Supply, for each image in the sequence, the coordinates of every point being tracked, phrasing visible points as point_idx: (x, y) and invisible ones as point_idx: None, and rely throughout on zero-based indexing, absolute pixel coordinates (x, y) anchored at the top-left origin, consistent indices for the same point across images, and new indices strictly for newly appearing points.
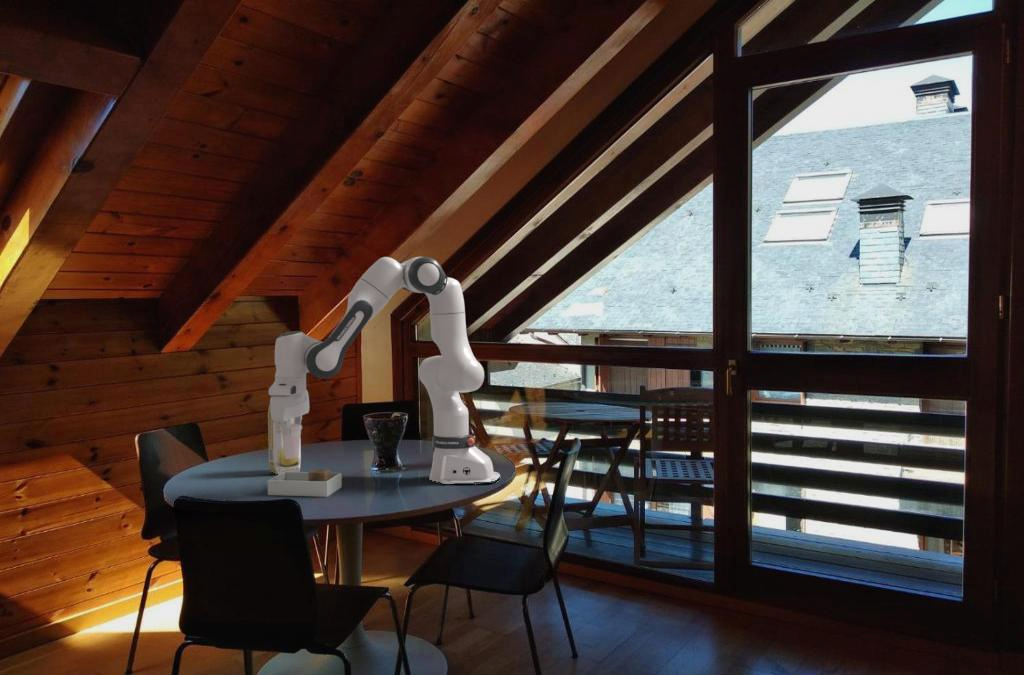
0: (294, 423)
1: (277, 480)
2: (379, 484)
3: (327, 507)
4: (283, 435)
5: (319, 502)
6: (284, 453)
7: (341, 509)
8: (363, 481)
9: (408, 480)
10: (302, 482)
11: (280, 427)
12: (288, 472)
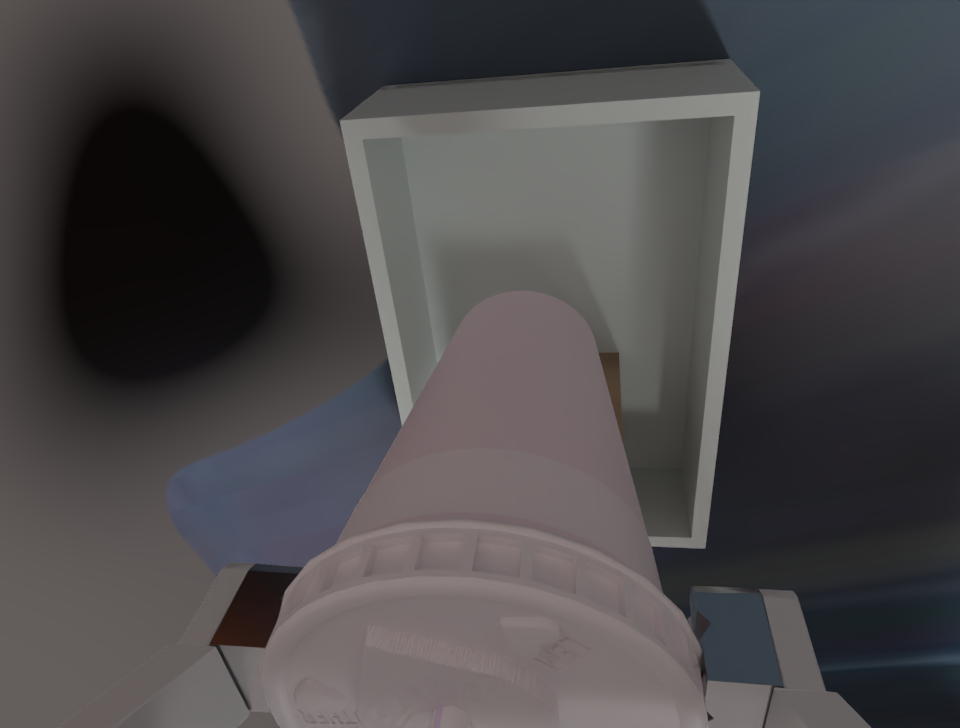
0: (800, 723)
1: (366, 212)
2: (833, 602)
3: (303, 501)
4: (238, 565)
5: (375, 444)
6: (459, 334)
7: (297, 556)
8: (934, 521)
9: (928, 693)
10: (399, 398)
11: (311, 587)
12: (730, 147)
